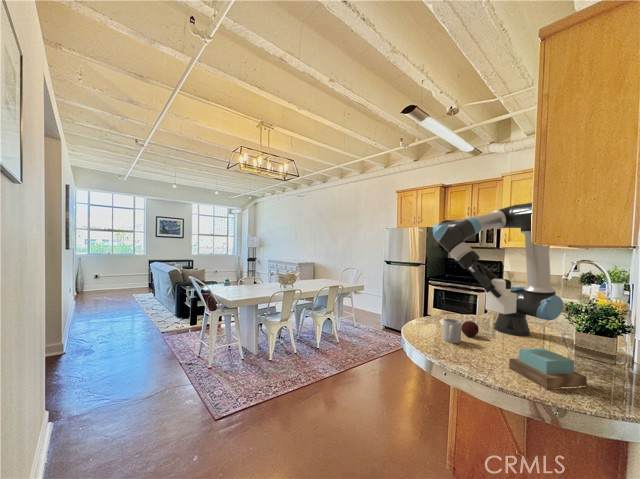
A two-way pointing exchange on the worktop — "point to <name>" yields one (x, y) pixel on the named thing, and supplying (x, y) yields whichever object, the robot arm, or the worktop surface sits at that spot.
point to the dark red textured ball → (469, 328)
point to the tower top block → (546, 361)
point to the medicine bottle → (505, 288)
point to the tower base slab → (547, 376)
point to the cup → (452, 330)
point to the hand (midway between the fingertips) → (511, 302)
